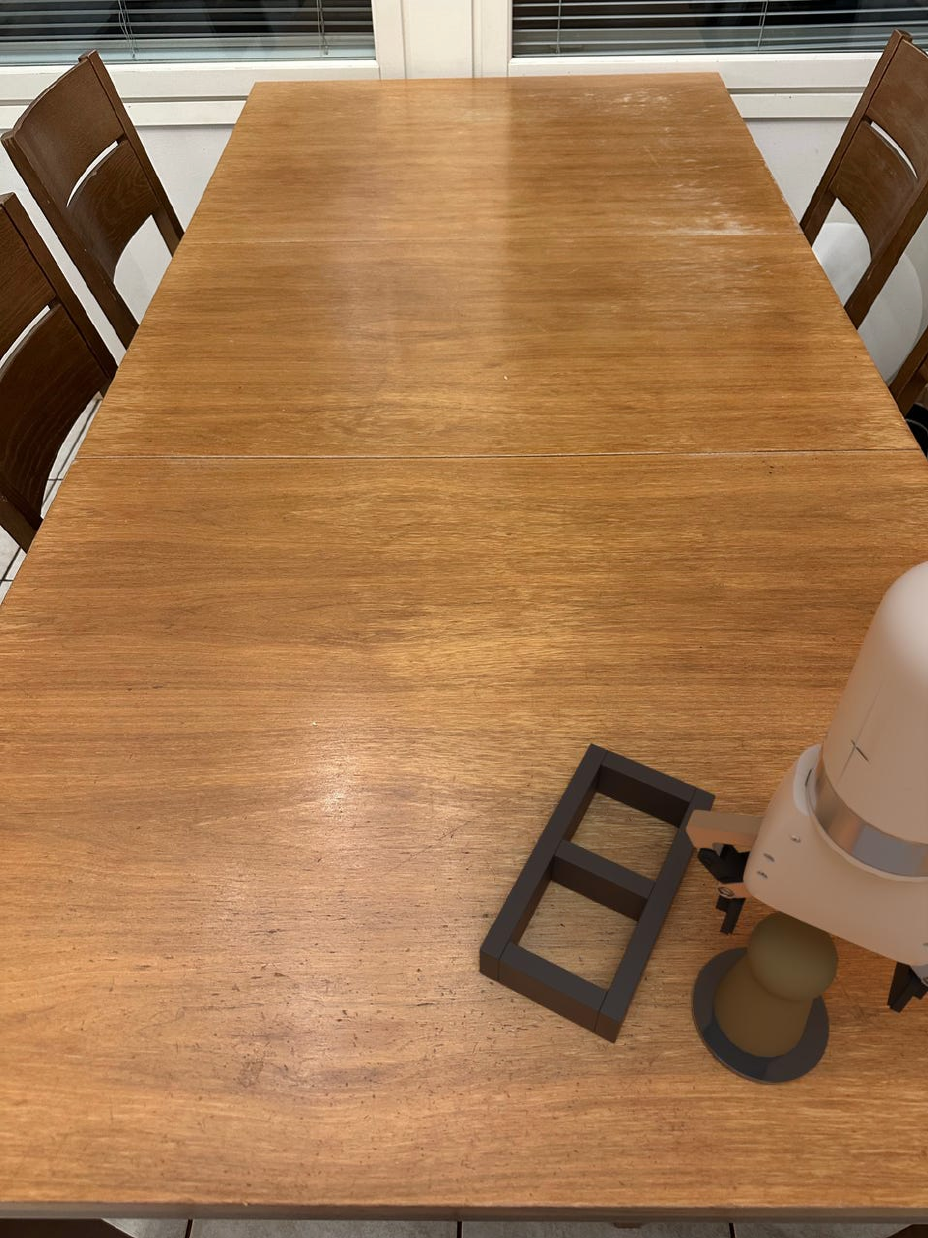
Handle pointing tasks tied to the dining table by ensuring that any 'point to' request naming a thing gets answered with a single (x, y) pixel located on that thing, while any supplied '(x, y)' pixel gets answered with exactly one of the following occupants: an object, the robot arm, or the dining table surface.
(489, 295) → the dining table surface
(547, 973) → the holder
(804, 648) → the dining table surface
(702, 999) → the coaster
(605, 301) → the dining table surface
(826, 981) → the cork
